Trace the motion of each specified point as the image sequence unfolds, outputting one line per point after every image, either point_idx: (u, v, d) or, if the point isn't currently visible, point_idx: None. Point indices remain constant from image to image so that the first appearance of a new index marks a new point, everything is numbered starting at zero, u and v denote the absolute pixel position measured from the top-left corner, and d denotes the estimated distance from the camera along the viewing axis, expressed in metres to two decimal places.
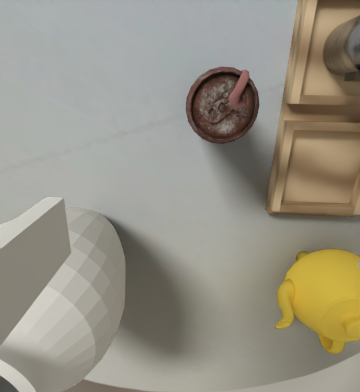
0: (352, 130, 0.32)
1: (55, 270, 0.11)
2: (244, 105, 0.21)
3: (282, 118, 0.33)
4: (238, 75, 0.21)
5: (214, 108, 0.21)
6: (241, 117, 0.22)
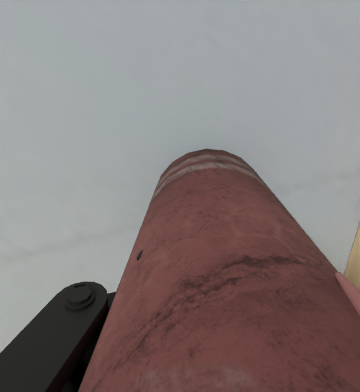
0: None
1: None
2: None
3: None
4: None
5: None
6: None
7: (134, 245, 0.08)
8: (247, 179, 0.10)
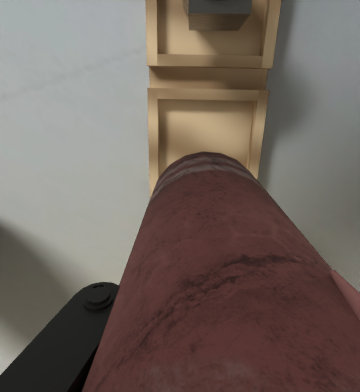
0: (227, 98, 0.26)
1: None
2: None
3: (150, 86, 0.28)
4: None
5: None
6: None
7: (133, 247, 0.08)
8: (243, 181, 0.10)
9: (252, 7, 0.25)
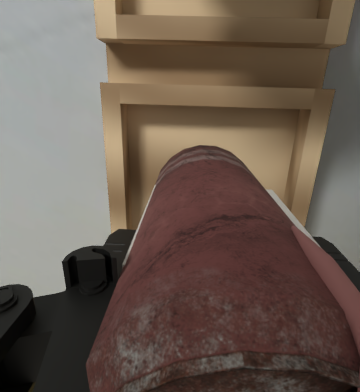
0: (252, 104, 0.14)
1: None
2: None
3: None
4: (338, 370, 0.03)
5: None
6: None
7: None
8: (233, 167, 0.11)
9: None
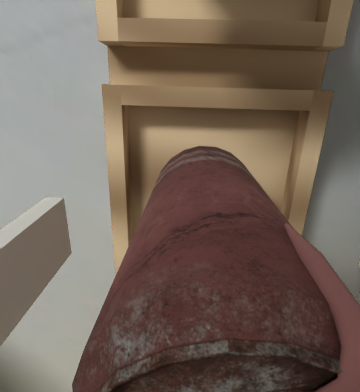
0: (252, 106, 0.14)
1: (55, 270, 0.11)
2: None
3: None
4: (320, 358, 0.04)
5: None
6: None
7: None
8: (231, 167, 0.11)
9: None
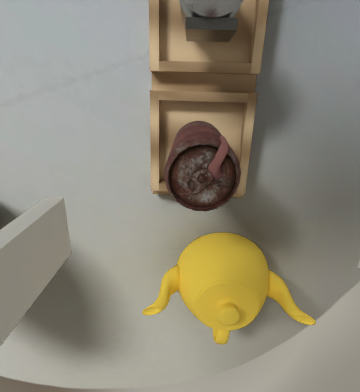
0: (220, 100, 0.30)
1: (55, 270, 0.11)
2: (225, 175, 0.20)
3: (152, 89, 0.31)
4: (216, 147, 0.19)
5: (193, 179, 0.20)
6: (222, 187, 0.21)
7: None
8: (209, 126, 0.27)
9: (242, 20, 0.28)
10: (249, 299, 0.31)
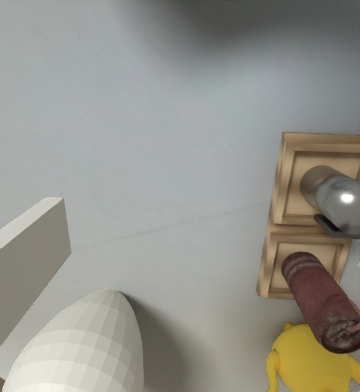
0: (324, 242, 0.40)
1: (55, 270, 0.11)
2: (358, 333, 0.31)
3: (269, 228, 0.42)
4: (357, 320, 0.30)
5: (337, 336, 0.31)
6: (355, 339, 0.31)
7: (300, 289, 0.36)
8: (322, 270, 0.38)
9: None
10: (342, 386, 0.42)
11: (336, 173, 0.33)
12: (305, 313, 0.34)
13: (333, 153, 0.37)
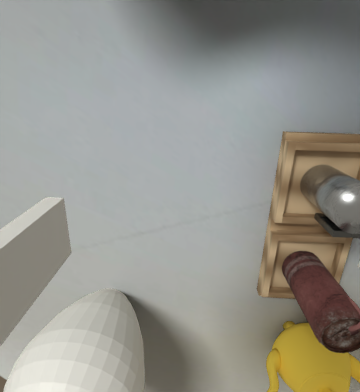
0: (324, 241, 0.40)
1: (55, 270, 0.11)
2: (359, 333, 0.31)
3: (269, 227, 0.42)
4: (358, 319, 0.30)
5: (338, 335, 0.31)
6: (356, 339, 0.31)
7: (301, 288, 0.36)
8: (323, 269, 0.38)
9: None
10: (342, 385, 0.42)
11: (337, 173, 0.33)
12: (306, 312, 0.34)
13: (333, 152, 0.37)
